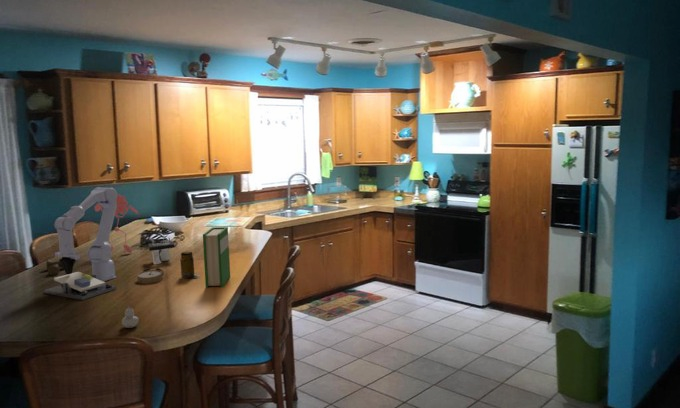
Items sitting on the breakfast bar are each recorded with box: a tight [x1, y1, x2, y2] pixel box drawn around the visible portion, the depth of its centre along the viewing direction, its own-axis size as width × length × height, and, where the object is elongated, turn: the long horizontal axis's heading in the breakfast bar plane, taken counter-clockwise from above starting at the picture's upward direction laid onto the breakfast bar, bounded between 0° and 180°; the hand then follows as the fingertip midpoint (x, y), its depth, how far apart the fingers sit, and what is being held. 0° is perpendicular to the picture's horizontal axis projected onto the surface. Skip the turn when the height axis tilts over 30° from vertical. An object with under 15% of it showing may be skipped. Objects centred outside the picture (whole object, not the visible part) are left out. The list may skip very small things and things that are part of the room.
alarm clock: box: [136, 267, 165, 285], centre depth 253 cm, size 11×5×15 cm
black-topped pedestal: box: [147, 237, 175, 266], centre depth 287 cm, size 28×26×13 cm
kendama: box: [46, 258, 64, 276], centre depth 274 cm, size 6×10×20 cm
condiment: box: [178, 251, 201, 280], centre depth 256 cm, size 7×8×12 cm
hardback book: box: [202, 226, 231, 289], centre depth 245 cm, size 18×7×24 cm, turn 0°
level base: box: [44, 274, 117, 301], centre depth 236 cm, size 25×17×6 cm
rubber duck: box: [121, 305, 139, 329], centre depth 190 cm, size 5×7×8 cm
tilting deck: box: [53, 271, 106, 292], centre depth 236 cm, size 18×12×3 cm, turn 62°
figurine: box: [94, 193, 140, 256], centre depth 311 cm, size 15×26×35 cm, turn 89°
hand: (69, 273), depth 239 cm, fingers closed
